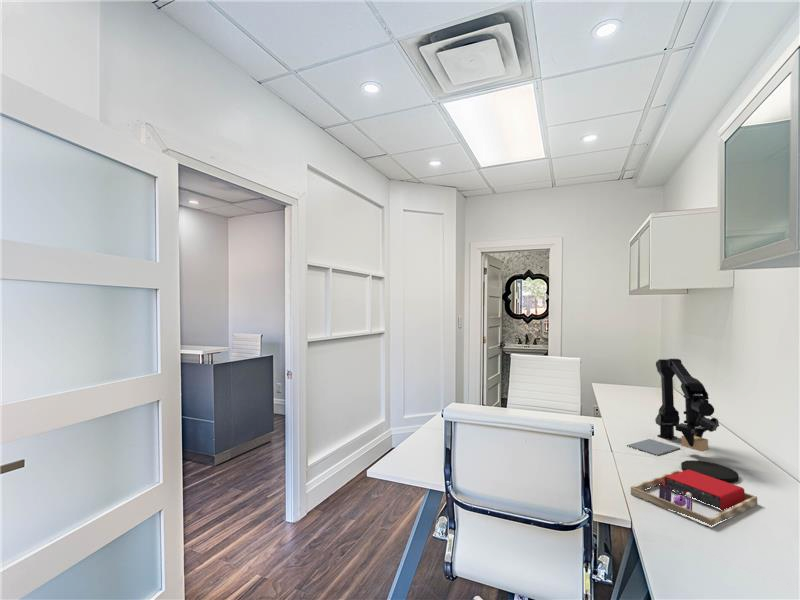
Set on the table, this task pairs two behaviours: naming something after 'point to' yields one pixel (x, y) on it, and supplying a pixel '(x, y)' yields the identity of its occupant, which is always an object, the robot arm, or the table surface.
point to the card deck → (696, 443)
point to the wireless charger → (711, 470)
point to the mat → (653, 447)
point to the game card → (679, 500)
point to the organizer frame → (726, 514)
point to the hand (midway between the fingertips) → (694, 445)
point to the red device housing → (707, 488)
